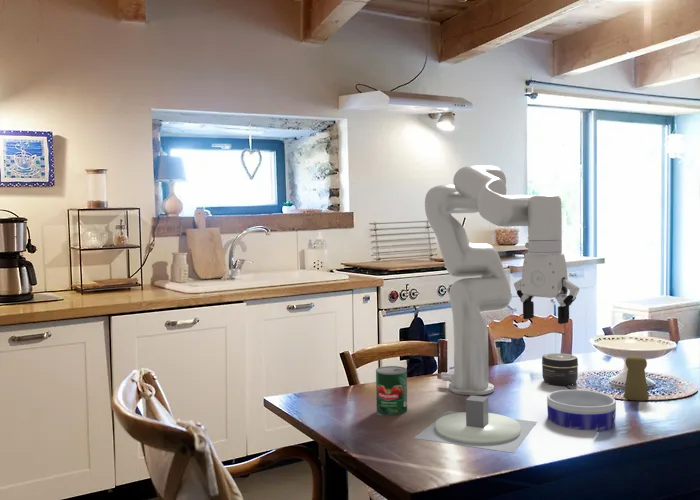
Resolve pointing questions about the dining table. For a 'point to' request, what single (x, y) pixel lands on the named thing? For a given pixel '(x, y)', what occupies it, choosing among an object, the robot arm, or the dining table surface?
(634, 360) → the olive pawn
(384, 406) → the canned tomato
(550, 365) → the jar
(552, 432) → the dining table surface
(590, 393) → the dog bowl
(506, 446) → the mat
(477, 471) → the dining table surface
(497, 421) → the lid
